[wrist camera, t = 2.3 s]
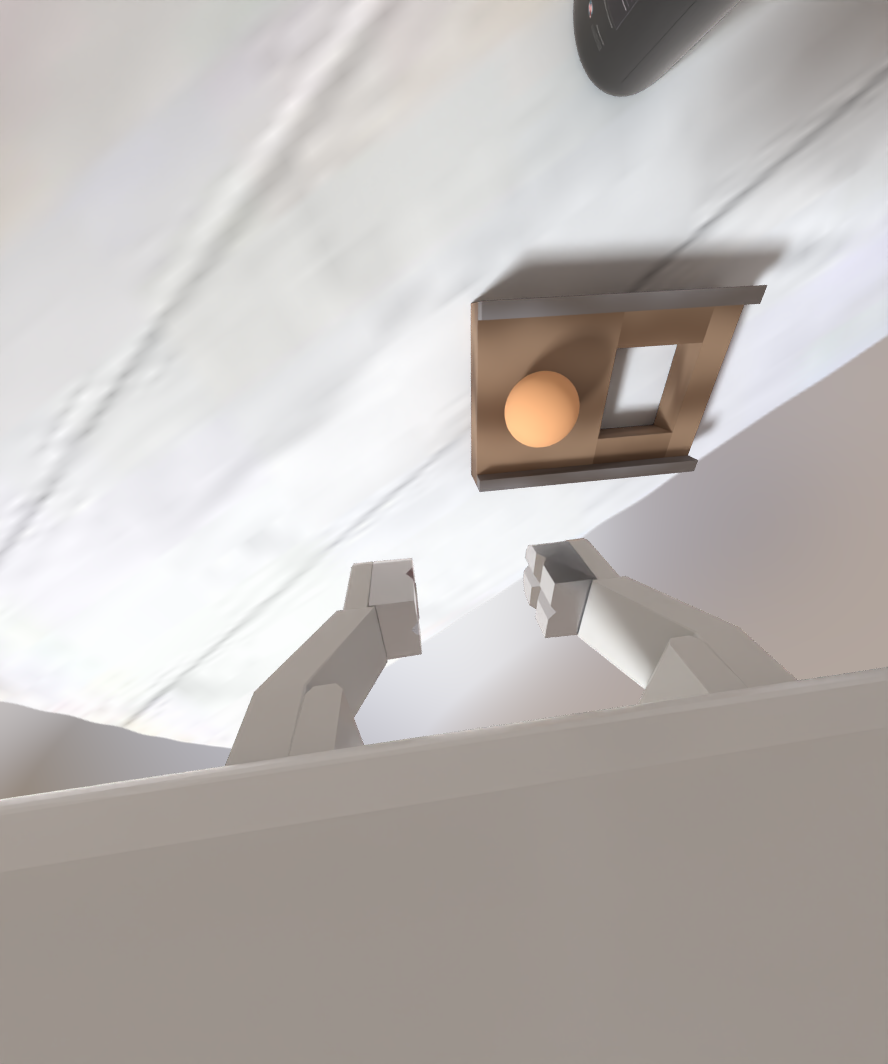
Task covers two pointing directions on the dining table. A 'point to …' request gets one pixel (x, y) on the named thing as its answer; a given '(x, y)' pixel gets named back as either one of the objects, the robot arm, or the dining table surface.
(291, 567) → the dining table surface
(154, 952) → the robot arm
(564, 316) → the lane
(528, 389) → the ball
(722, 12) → the supplement bottle
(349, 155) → the dining table surface
